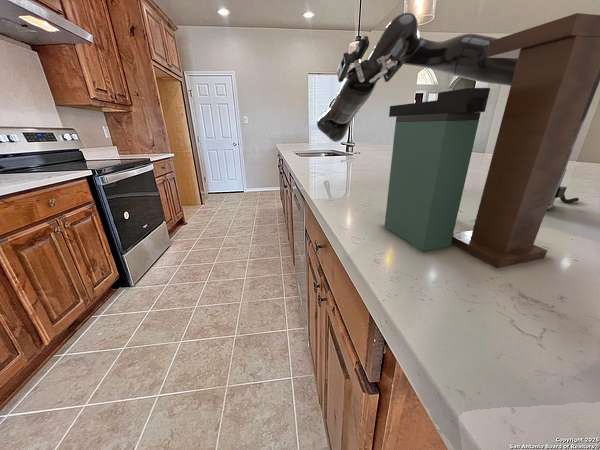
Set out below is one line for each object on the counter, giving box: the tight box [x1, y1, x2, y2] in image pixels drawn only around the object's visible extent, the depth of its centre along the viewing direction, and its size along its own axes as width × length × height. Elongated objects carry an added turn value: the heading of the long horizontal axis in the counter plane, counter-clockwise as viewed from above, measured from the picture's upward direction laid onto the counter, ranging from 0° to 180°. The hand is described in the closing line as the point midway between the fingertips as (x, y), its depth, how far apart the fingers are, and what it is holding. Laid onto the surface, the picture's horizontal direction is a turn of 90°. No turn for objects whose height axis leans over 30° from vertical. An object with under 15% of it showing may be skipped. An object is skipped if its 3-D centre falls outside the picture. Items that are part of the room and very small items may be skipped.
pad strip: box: [388, 87, 491, 118], centre depth 41 cm, size 4×18×3 cm, turn 15°
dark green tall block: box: [384, 112, 482, 252], centre depth 45 cm, size 6×12×22 cm, turn 15°
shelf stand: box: [451, 12, 600, 269], centre depth 38 cm, size 10×11×32 cm
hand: (385, 40), depth 50 cm, fingers open, 8 cm apart
